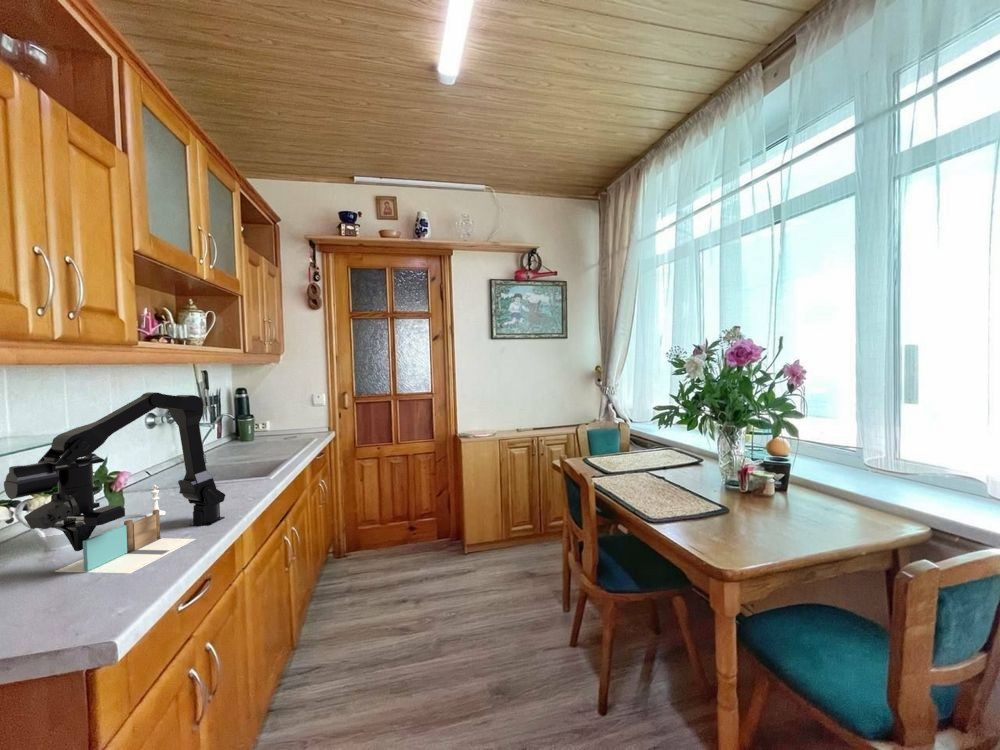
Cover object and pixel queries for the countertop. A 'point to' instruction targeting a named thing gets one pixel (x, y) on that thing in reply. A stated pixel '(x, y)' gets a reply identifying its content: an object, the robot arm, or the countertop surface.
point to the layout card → (132, 557)
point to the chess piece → (155, 502)
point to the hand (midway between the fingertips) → (78, 550)
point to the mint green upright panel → (104, 547)
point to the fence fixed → (142, 531)
